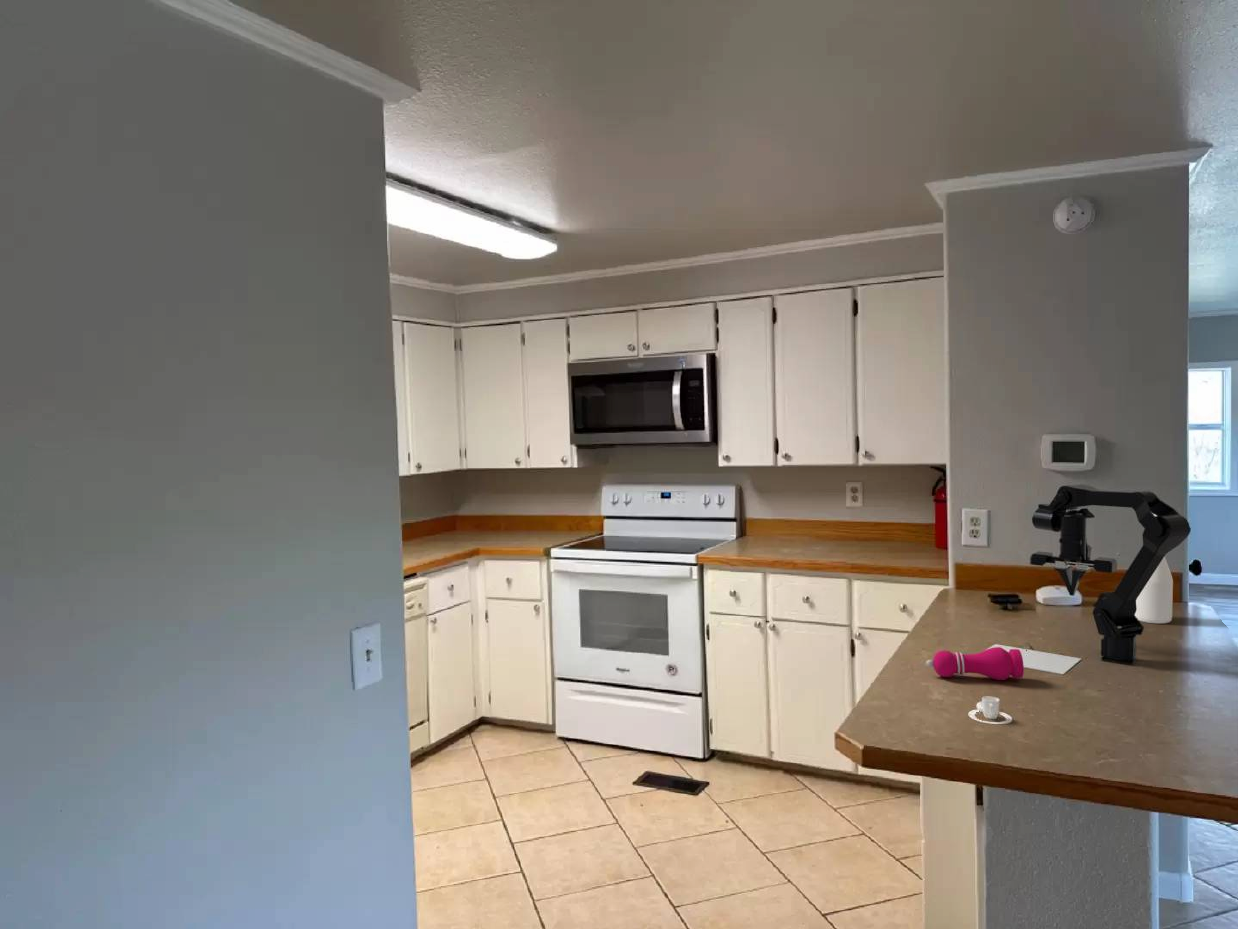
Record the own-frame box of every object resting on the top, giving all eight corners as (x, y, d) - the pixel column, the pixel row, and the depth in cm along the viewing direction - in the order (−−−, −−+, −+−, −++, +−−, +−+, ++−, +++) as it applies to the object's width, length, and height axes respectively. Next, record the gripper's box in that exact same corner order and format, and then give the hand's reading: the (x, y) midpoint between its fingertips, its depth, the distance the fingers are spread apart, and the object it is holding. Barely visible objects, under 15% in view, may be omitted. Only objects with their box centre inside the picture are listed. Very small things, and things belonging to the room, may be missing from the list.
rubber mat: (1081, 659, 201) (1081, 658, 201) (1063, 674, 190) (1063, 673, 190) (995, 644, 215) (995, 644, 214) (973, 658, 204) (973, 657, 204)
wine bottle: (1124, 618, 238) (1126, 514, 236) (1145, 614, 242) (1147, 511, 240) (1158, 626, 229) (1160, 517, 227) (1179, 621, 233) (1182, 515, 231)
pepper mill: (1015, 642, 190) (923, 643, 194) (1024, 654, 183) (927, 654, 187) (1016, 672, 191) (924, 672, 195) (1024, 685, 184) (929, 685, 188)
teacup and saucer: (976, 707, 172) (977, 688, 171) (1018, 716, 166) (1018, 696, 166) (962, 720, 165) (962, 700, 165) (1005, 729, 160) (1005, 709, 160)
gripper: (1123, 533, 210) (1121, 594, 211) (1043, 527, 223) (1042, 585, 224) (1111, 539, 202) (1110, 602, 203) (1029, 532, 215) (1029, 592, 216)
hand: (1072, 595), depth 211 cm, fingers closed
